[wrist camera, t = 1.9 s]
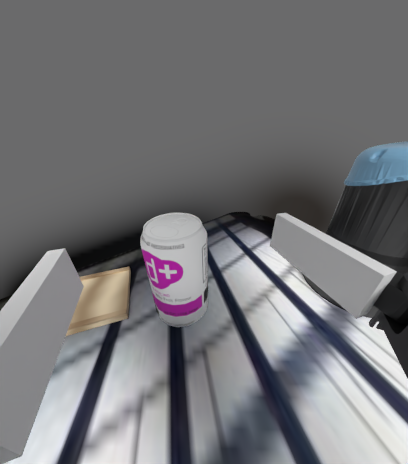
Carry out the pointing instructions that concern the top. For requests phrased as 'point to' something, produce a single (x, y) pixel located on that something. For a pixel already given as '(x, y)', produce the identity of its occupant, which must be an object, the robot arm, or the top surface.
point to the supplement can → (177, 267)
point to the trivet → (102, 300)
